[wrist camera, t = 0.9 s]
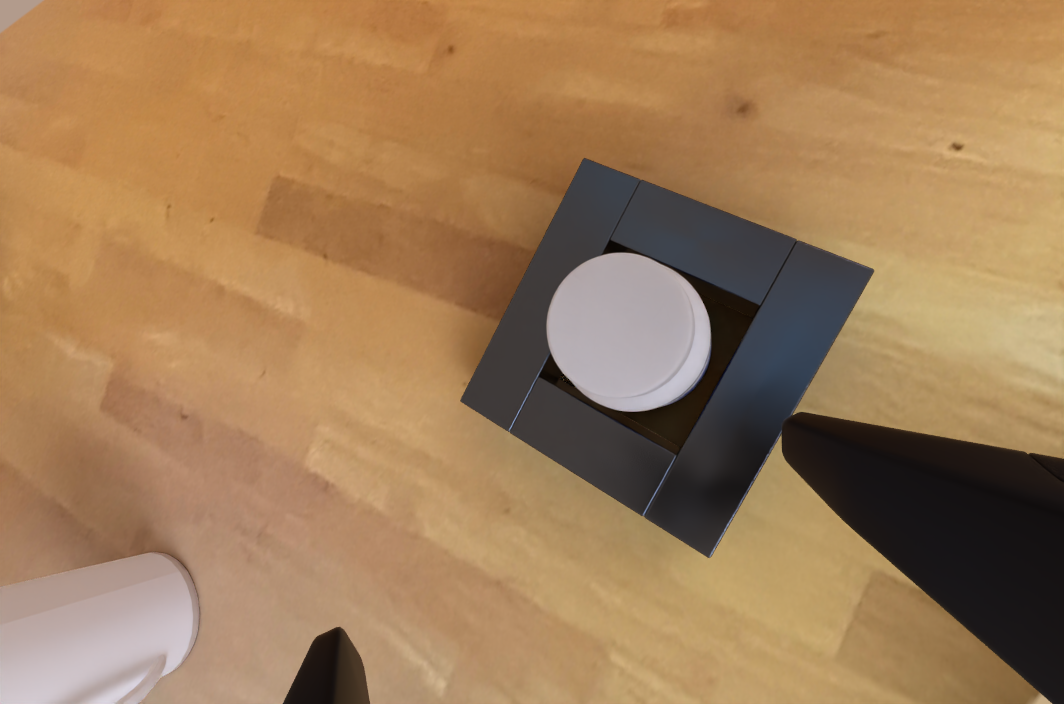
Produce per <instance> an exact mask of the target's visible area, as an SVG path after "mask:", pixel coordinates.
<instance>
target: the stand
mask: <svg viewBox="0 0 1064 704" xmlns="http://www.w3.org/2000/svg"><path fill="white" fill-rule="evenodd" d="M611 253H632V254H638V255H641V256H644V257H647V258H650V259H652V260H654V261H656V262H658V263H659V264H661V265H664V266H666V267H668V268H670V269H672V270H673V271H675V272H677V273H678V274H680V275H681V276H682V277H683V278H685V279H686V280H687V281H688V282H689V283H690V284H691V285H692V287H693V288H694V289H695V290H696V292H697V293H698V294H701V295H703V296H705V297H707V298H709V299H712V300H714V301H716V302H718V303H721V304H723V305H725V306H727V307H729V308H732V309H734V310H736V311H738V312H741V313H743V314H745V315H747V316H750V317H752V318H753V320H752V322H751V324H750V326H749V327H748V329H747V331H746V333H745V335H744V336H743V338H742V340H741V342H740V344H739V345H738V347H737V349H736V351H735V353H734V354H733V356H732V358H731V360H730V362H729V363H728V365H727V367H726V369H725V371H724V372H723V374H722V376H721V378H720V380H719V381H718V383H717V385H716V387H715V389H714V390H713V392H712V394H711V396H710V398H709V399H708V401H707V403H706V405H705V407H704V408H703V410H702V412H701V414H700V416H699V417H698V419H697V421H696V423H695V425H694V426H693V428H692V430H691V432H690V434H689V435H688V437H687V439H686V441H685V443H684V444H683V446H682V448H681V447H679V446H677V445H676V444H674V443H672V442H670V441H669V440H667V439H665V438H663V437H662V436H660V435H658V434H656V433H654V432H653V431H651V430H649V429H647V428H646V427H644V426H642V425H640V424H638V423H637V422H635V421H633V420H631V419H630V418H628V417H626V416H624V415H623V414H621V413H619V412H617V411H615V410H614V409H611V408H608V407H605V406H603V405H600V404H598V403H596V402H594V401H593V400H591V399H590V398H588V397H587V396H585V395H584V394H583V393H582V392H581V391H580V390H578V389H576V388H575V387H573V386H571V385H569V384H568V383H566V382H564V381H562V380H560V379H559V378H560V376H561V374H562V371H561V370H560V368H559V367H558V365H557V364H556V362H555V360H554V358H553V356H552V354H551V351H550V348H549V344H548V339H547V326H546V324H547V315H548V311H549V307H550V304H551V301H552V298H553V296H554V294H555V292H556V290H557V289H558V287H559V285H560V284H561V283H562V281H563V280H564V279H565V278H566V277H567V276H568V275H569V274H570V273H571V272H572V271H573V270H574V269H575V268H577V267H578V266H580V265H581V264H583V263H584V262H586V261H588V260H590V259H593V258H595V257H598V256H601V255H606V254H611ZM873 273H874V269H872V268H869V267H867V266H864V265H861V264H859V263H856V262H854V261H851V260H848V259H846V258H843V257H841V256H838V255H835V254H833V253H830V252H828V251H825V250H822V249H820V248H817V247H815V246H812V245H809V244H807V243H804V242H802V241H797V239H795V238H792V237H789V236H787V235H784V234H782V233H779V232H776V231H774V230H771V229H769V228H766V227H763V226H761V225H758V224H756V223H753V222H750V221H748V220H745V219H743V218H740V217H737V216H735V215H732V214H730V213H727V212H724V211H722V210H719V209H717V208H714V207H711V206H709V205H706V204H704V203H701V202H698V201H696V200H693V199H691V198H688V197H685V196H683V195H680V194H678V193H675V192H672V191H670V190H667V189H665V188H662V187H659V186H657V185H654V184H652V183H649V182H646V181H644V180H640V179H638V178H635V177H633V176H630V175H628V174H625V173H622V172H620V171H617V170H615V169H612V168H609V167H607V166H604V165H602V164H599V163H596V162H594V161H591V160H589V159H586V158H584V159H583V160H582V162H581V164H580V166H579V168H578V170H577V172H576V174H575V176H574V178H573V180H572V182H571V184H570V186H569V188H568V190H567V192H566V194H565V196H564V198H563V200H562V202H561V204H560V206H559V208H558V209H557V211H556V213H555V215H554V217H553V219H552V221H551V223H550V225H549V227H548V229H547V231H546V233H545V235H544V237H543V239H542V241H541V243H540V245H539V247H538V249H537V251H536V253H535V255H534V257H533V259H532V261H531V262H530V264H529V266H528V268H527V270H526V272H525V274H524V276H523V278H522V280H521V282H520V284H519V286H518V288H517V290H516V292H515V294H514V296H513V298H512V300H511V302H510V304H509V306H508V308H507V310H506V312H505V313H504V315H503V317H502V319H501V321H500V323H499V325H498V327H497V329H496V331H495V333H494V335H493V337H492V339H491V341H490V343H489V345H488V347H487V349H486V351H485V353H484V355H483V357H482V359H481V361H480V363H479V365H478V366H477V368H476V370H475V372H474V374H473V376H472V378H471V380H470V382H469V384H468V386H467V388H466V390H465V392H464V394H463V396H462V398H461V400H460V401H461V402H462V403H464V404H465V405H467V406H468V407H470V408H472V409H473V410H475V411H476V412H478V413H479V414H481V415H483V416H484V417H486V418H487V419H489V420H491V421H492V422H494V423H495V424H497V425H498V426H500V427H502V428H503V429H505V430H506V431H508V432H510V433H511V434H513V435H514V436H516V437H517V438H519V439H521V440H522V441H524V442H525V443H527V444H528V445H530V446H532V447H533V448H535V449H536V450H538V451H540V452H541V453H543V454H544V455H546V456H548V457H549V458H551V459H552V460H554V461H555V462H557V463H559V464H560V465H562V466H563V467H565V468H567V469H568V470H570V471H571V472H573V473H574V474H576V475H578V476H579V477H581V478H582V479H584V480H586V481H587V482H589V483H590V484H592V485H594V486H595V487H597V488H598V489H600V490H601V491H603V492H605V493H606V494H608V495H609V496H611V497H613V498H614V499H616V500H617V501H619V502H620V503H622V504H624V505H625V506H627V507H628V508H630V509H632V510H633V511H635V512H636V513H638V514H640V515H641V516H644V517H645V518H646V519H648V520H649V521H651V522H652V523H654V524H656V525H657V526H659V527H660V528H662V529H664V530H665V531H667V532H668V533H670V534H671V535H673V536H675V537H676V538H678V539H679V540H681V541H683V542H684V543H686V544H687V545H689V546H691V547H692V548H694V549H695V550H697V551H698V552H700V553H702V554H703V555H705V556H706V557H708V558H710V557H711V556H712V555H713V553H714V551H715V549H716V548H717V546H718V544H719V542H720V541H721V539H722V537H723V535H724V534H725V532H726V530H727V528H728V527H729V525H730V523H731V521H732V520H733V518H734V516H735V514H736V513H737V511H738V509H739V507H740V506H741V504H742V502H743V500H744V499H745V497H746V495H747V493H748V492H749V490H750V488H751V486H752V485H753V483H754V481H755V479H756V478H757V476H758V474H759V472H760V471H761V469H762V467H763V465H764V464H765V462H766V460H767V458H768V457H769V455H770V453H771V451H772V450H773V448H774V446H775V444H776V443H777V441H778V439H779V437H780V436H781V434H782V428H781V426H782V422H783V420H784V419H786V418H788V417H790V416H792V415H793V413H794V411H795V409H796V408H797V406H798V404H799V402H800V401H801V399H802V397H803V395H804V394H805V392H806V390H807V388H808V387H809V385H810V383H811V381H812V380H813V378H814V376H815V374H816V373H817V371H818V369H819V367H820V366H821V364H822V362H823V360H824V359H825V357H826V355H827V353H828V352H829V350H830V348H831V346H832V345H833V343H834V341H835V339H836V338H837V336H838V334H839V332H840V331H841V329H842V327H843V325H844V324H845V322H846V320H847V318H848V317H849V315H850V313H851V311H852V310H853V308H854V306H855V304H856V303H857V301H858V299H859V297H860V296H861V294H862V292H863V290H864V289H865V287H866V285H867V283H868V282H869V280H870V278H871V276H872V275H873Z"/></svg>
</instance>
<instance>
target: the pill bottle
mask: <svg viewBox="0 0 1064 704" xmlns="http://www.w3.org/2000/svg"><path fill="white" fill-rule="evenodd" d="M546 326H547V339H548V344H549V348H550V351H551V354H552V356H553V358H554V360H555V362H556V364H557V365H558V367H559V368H560V370H561V371H562V372H563V374H564V375H565V376H566V377H567V378H568V379H569V380H570V381H572V383H573V384H574V385H575V386H576V387H577V388H578V389H579V390H580V391H581V392H582V393H583V394H584V395H585V396H587V397H588V398H590V399H591V400H593V401H594V402H596V403H598V404H600V405H603V406H605V407H608V408H611V409H615V410H620V411H632V412H639V411H646V410H652V409H655V408H659V407H662V406H666V405H669V404H672V403H675V402H677V401H679V400H681V399H682V398H684V397H685V396H687V395H688V394H689V393H691V392H692V391H693V390H694V389H695V388H696V387H697V386H698V384H699V383H700V382H701V381H702V379H703V377H704V376H705V374H706V372H707V369H708V366H709V363H710V358H711V328H710V321H709V317H708V314H707V311H706V308H705V306H704V304H703V302H702V300H701V298H700V296H699V295H698V293H697V292H696V290H695V289H694V288H693V287H692V285H691V284H690V283H689V282H688V281H687V280H686V279H685V278H683V277H682V276H681V275H680V274H678V273H677V272H675V271H673V270H672V269H670V268H668V267H666V266H664V265H661V264H659V263H658V262H656V261H654V260H652V259H650V258H647V257H644V256H641V255H638V254H632V253H611V254H606V255H601V256H598V257H595V258H593V259H590V260H588V261H586V262H584V263H583V264H581V265H580V266H578V267H577V268H575V269H574V270H573V271H572V272H571V273H570V274H569V275H568V276H567V277H566V278H565V279H564V280H563V281H562V283H561V284H560V285H559V287H558V289H557V290H556V292H555V294H554V296H553V298H552V301H551V304H550V307H549V311H548V315H547V324H546Z"/></svg>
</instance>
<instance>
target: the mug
mask: <svg viewBox="0 0 1064 704" xmlns="http://www.w3.org/2000/svg"><path fill="white" fill-rule="evenodd" d="M199 615H200V612H199V602H198V596H197V592H196V589H195V586H194V582H193V581H192V579H191V577H190V575H189V573H188V571H187V570H186V569H185V567H184V566H183V565H182V564H181V563H180V562H179V561H178V560H177V559H175V558H173V557H172V556H170V555H168V554H164V553H159V552H150V553H144V554H141V555H136V556H132V557H127V558H123V559H119V560H114V561H110V562H106V563H101V564H97V565H93V566H88V567H84V568H79V569H75V570H71V571H66V572H62V573H58V574H53V575H49V576H45V577H40V578H36V579H31V580H27V581H23V582H18V583H14V584H10V585H5V586H1V587H0V704H138V703H139V702H140V701H141V700H143V699H144V698H145V696H146V695H147V694H148V693H149V692H150V690H151V689H152V688H153V687H154V686H155V685H156V683H157V682H158V680H159V679H160V678H161V677H163V676H165V675H166V674H168V673H170V672H172V671H174V670H176V669H177V668H178V667H179V665H180V664H181V663H182V662H183V661H184V660H185V659H186V658H187V656H188V655H189V653H190V651H191V649H192V647H193V645H194V643H195V639H196V636H197V632H198V627H199Z"/></svg>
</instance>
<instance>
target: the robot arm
mask: <svg viewBox="0 0 1064 704" xmlns="http://www.w3.org/2000/svg"><path fill="white" fill-rule="evenodd" d="M781 428H782V453H783V456H784V458H785V460H786V461H787V462H788V464H789V465H790V466H791V467H792V468H793V469H794V470H795V471H796V472H797V473H798V474H799V475H800V476H801V477H802V478H803V479H804V481H805V482H806V483H807V484H808V485H809V486H810V487H811V488H812V489H813V490H814V491H815V492H816V493H817V494H818V495H819V496H820V497H821V498H822V499H823V500H824V501H825V503H826V504H827V505H828V506H829V507H830V508H831V509H832V510H833V511H834V512H835V513H836V514H837V515H838V516H839V517H840V518H841V519H842V520H843V521H844V522H845V523H847V524H848V525H849V526H850V527H851V528H852V529H853V530H854V531H855V532H857V533H858V534H859V535H860V536H861V537H862V538H863V539H865V540H866V541H867V542H868V543H869V544H870V545H871V546H873V547H874V548H875V549H876V550H877V551H878V552H879V553H881V554H882V555H883V556H884V557H885V558H886V559H887V560H889V561H890V562H891V563H892V564H893V565H894V566H895V567H897V568H898V569H899V570H900V571H901V572H902V573H904V574H905V575H906V576H907V577H908V578H909V579H910V580H912V581H913V582H914V583H915V584H916V585H917V586H918V587H920V588H921V589H922V590H923V591H924V592H925V593H926V594H928V595H929V596H930V597H931V598H932V599H933V600H934V601H936V602H937V603H938V604H939V605H940V606H941V607H942V608H944V609H945V610H946V611H947V612H948V613H949V614H950V615H952V616H953V617H954V618H955V619H956V620H957V621H958V622H960V623H961V624H962V625H963V626H964V627H965V628H967V629H968V630H969V631H970V632H971V633H972V634H973V635H975V636H976V637H977V638H978V639H979V640H980V641H981V642H983V643H984V644H985V645H986V646H987V647H988V648H989V649H991V650H992V651H993V652H994V653H995V654H996V655H997V656H999V657H1000V658H1001V659H1002V660H1003V661H1004V662H1005V663H1007V664H1008V665H1009V666H1010V667H1011V668H1012V669H1013V670H1015V671H1016V672H1017V673H1018V674H1019V675H1020V676H1022V677H1023V678H1024V679H1025V680H1026V681H1027V682H1028V683H1030V684H1031V685H1032V686H1033V687H1034V688H1035V689H1036V690H1038V691H1039V692H1040V693H1041V694H1042V695H1043V696H1044V697H1046V698H1047V699H1048V700H1049V701H1050V702H1051V703H1052V704H1064V459H1062V458H1056V457H1051V456H1045V455H1040V454H1035V453H1029V454H1027V453H1026V452H1023V451H1017V450H1012V449H1006V448H1000V447H995V446H989V445H984V444H978V443H973V442H967V441H961V440H956V439H950V438H945V437H939V436H934V435H928V434H922V433H917V432H911V431H906V430H900V429H894V428H889V427H883V426H878V425H872V424H867V423H861V422H855V421H850V420H844V419H839V418H833V417H828V416H822V415H816V414H811V413H805V412H800V413H796V414H794V415H792V416H790V417H788V418H786V419H784V420H783V422H782V426H781ZM283 704H370V701H369V695H368V689H367V682H366V676H365V670H364V666H363V662H362V659H361V657H360V655H359V653H358V652H357V650H356V648H355V647H354V645H353V643H352V642H351V640H350V639H349V637H348V635H347V634H346V632H345V631H344V630H343V629H342V628H341V627H336V628H334V629H332V630H330V631H327V632H325V633H323V634H321V635H319V636H317V637H316V638H315V639H314V641H313V642H312V644H311V646H310V648H309V651H308V653H307V655H306V657H305V659H304V661H303V663H302V665H301V667H300V669H299V671H298V673H297V675H296V677H295V679H294V682H293V684H292V686H291V688H290V690H289V692H288V694H287V696H286V698H285V700H284V702H283Z"/></svg>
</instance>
